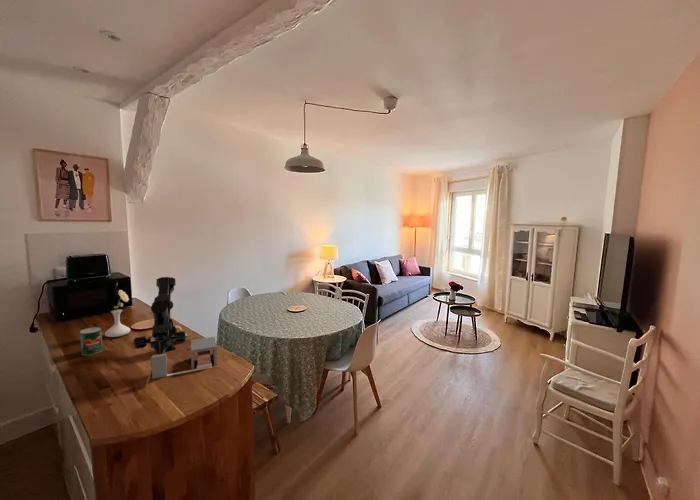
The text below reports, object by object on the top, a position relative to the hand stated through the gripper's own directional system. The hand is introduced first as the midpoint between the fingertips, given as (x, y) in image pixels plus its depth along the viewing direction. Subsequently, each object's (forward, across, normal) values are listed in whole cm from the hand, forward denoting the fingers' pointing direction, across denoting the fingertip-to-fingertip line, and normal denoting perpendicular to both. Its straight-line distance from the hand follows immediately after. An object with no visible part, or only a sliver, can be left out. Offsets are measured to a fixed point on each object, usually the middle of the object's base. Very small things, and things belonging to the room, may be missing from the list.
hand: (159, 358), depth 125 cm
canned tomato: (-22, -32, +34) cm, 51 cm away
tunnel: (+2, +16, +9) cm, 19 cm away
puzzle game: (-24, +1, +36) cm, 43 cm away
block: (+3, +16, +6) cm, 18 cm away
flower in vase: (-37, -25, +48) cm, 66 cm away
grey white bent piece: (+4, +9, +6) cm, 11 cm away
